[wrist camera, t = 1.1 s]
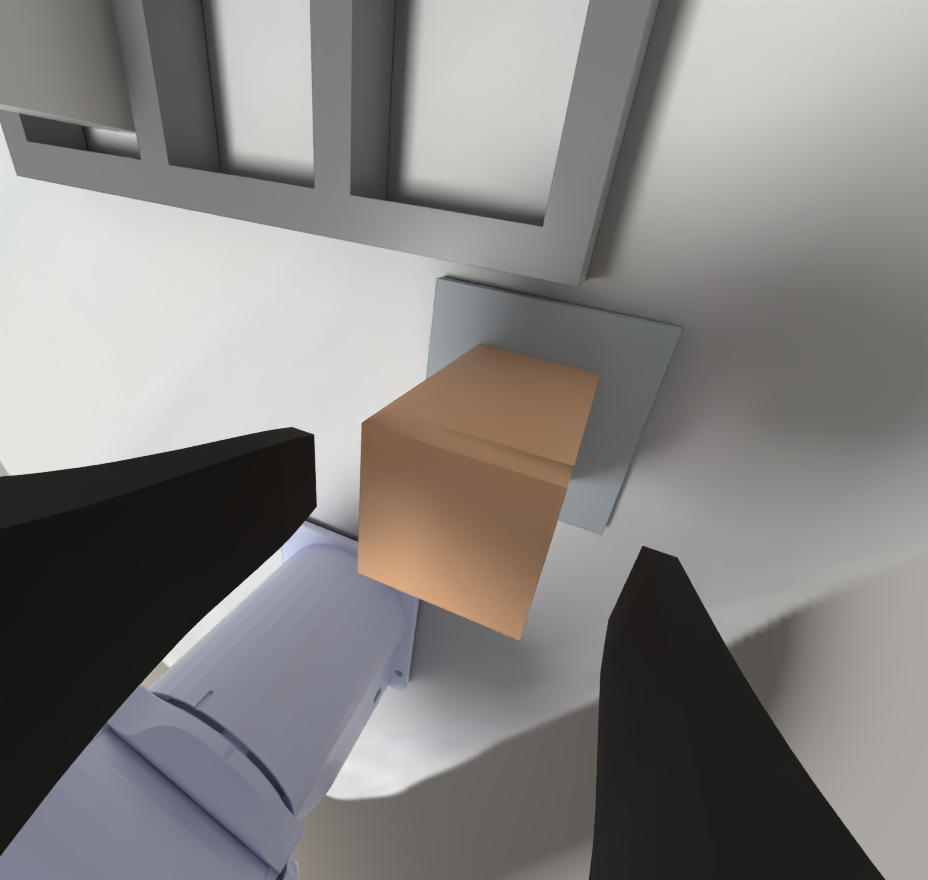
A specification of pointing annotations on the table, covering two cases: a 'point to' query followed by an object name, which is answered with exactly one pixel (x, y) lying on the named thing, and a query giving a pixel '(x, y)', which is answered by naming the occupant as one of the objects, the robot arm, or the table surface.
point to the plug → (472, 482)
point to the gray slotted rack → (345, 139)
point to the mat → (573, 344)
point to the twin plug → (64, 63)
